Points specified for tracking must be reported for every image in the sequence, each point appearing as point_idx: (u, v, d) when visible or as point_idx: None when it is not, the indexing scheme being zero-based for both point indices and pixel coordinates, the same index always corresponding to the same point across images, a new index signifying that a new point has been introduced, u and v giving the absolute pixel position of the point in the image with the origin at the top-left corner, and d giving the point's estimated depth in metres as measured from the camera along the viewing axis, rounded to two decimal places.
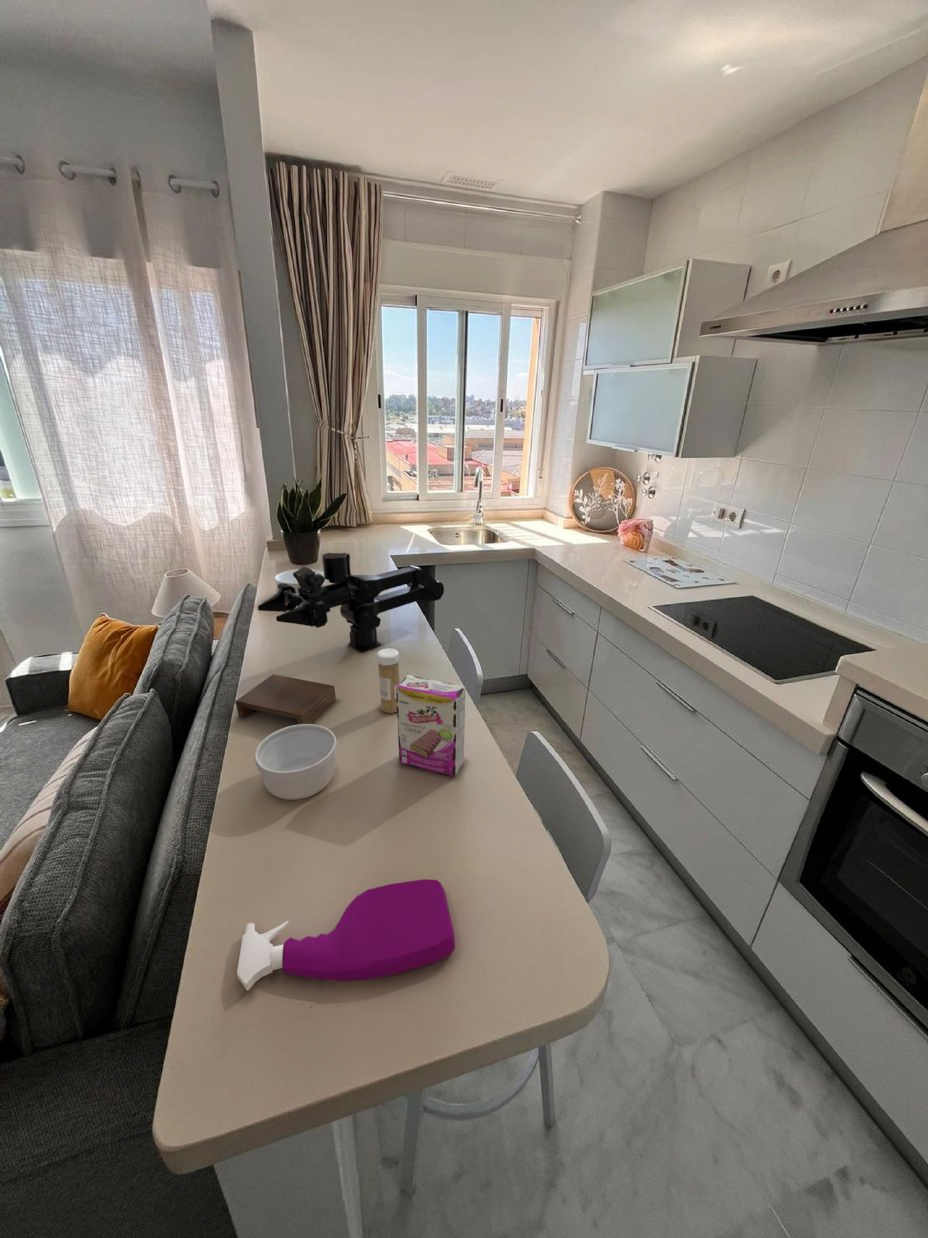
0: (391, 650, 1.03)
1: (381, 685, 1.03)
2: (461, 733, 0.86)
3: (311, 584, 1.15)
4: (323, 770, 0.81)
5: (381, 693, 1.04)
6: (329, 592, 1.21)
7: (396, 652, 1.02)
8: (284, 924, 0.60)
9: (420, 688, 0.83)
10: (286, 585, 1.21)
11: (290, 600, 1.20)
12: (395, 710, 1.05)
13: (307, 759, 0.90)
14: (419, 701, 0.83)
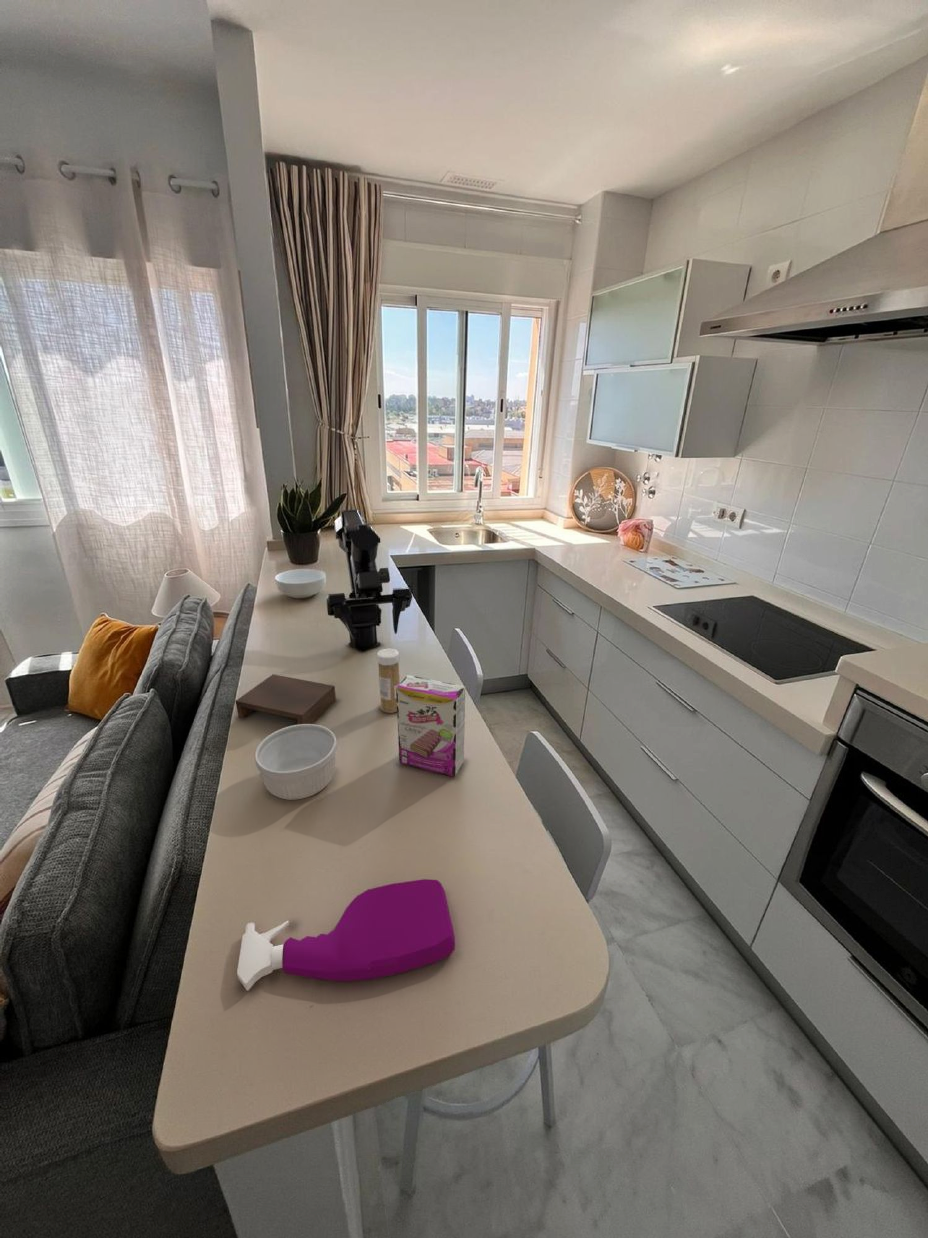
0: (391, 650, 1.03)
1: (381, 685, 1.03)
2: (461, 733, 0.86)
3: (384, 582, 1.08)
4: (323, 770, 0.81)
5: (381, 693, 1.04)
6: (375, 571, 1.13)
7: (396, 652, 1.02)
8: (284, 923, 0.60)
9: (420, 688, 0.83)
10: (339, 597, 1.07)
11: (352, 605, 1.10)
12: (395, 710, 1.05)
13: (307, 759, 0.90)
14: (419, 701, 0.83)
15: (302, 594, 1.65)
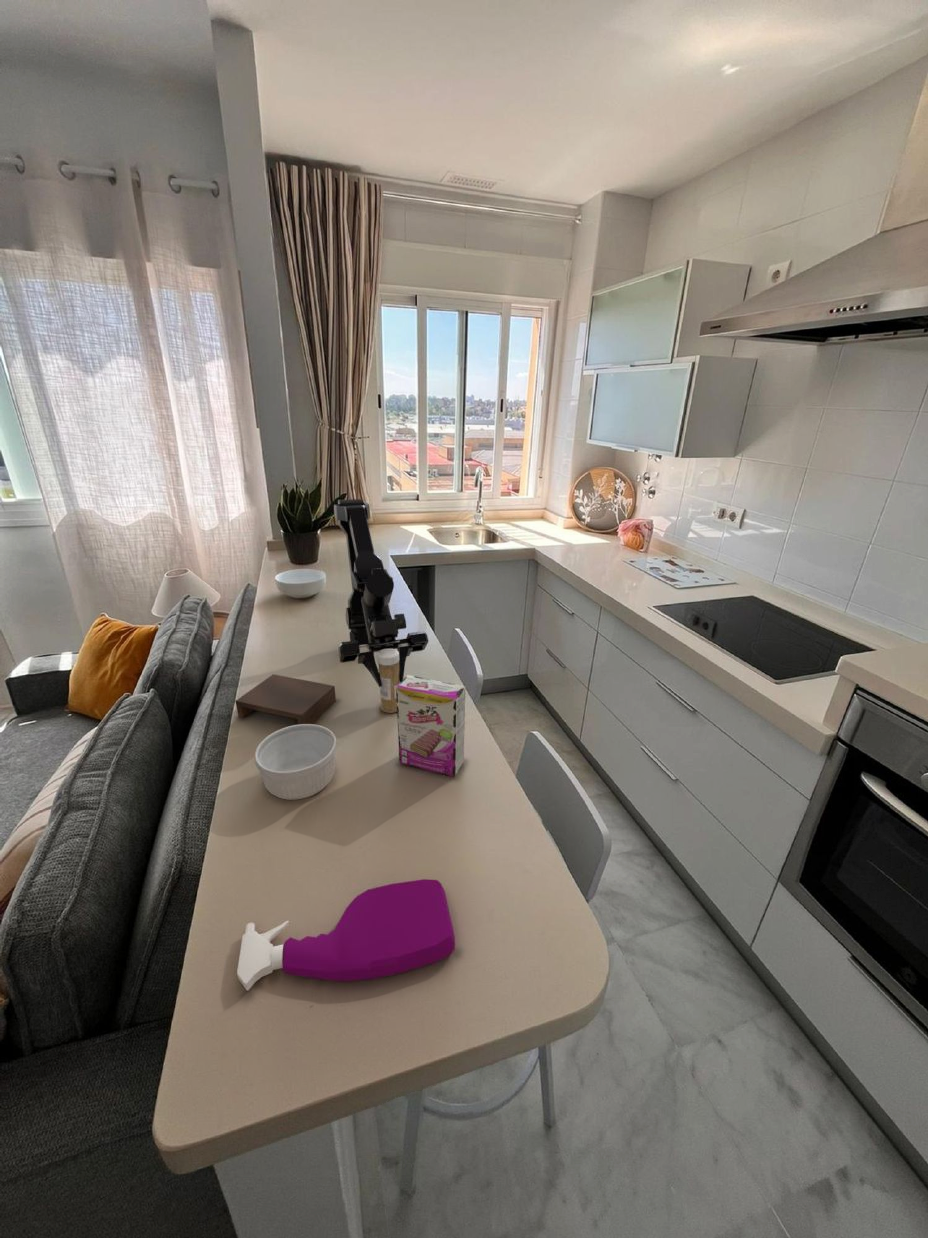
0: (391, 650, 1.03)
1: None
2: (461, 733, 0.86)
3: None
4: (323, 770, 0.81)
5: (381, 693, 1.04)
6: (388, 614, 1.08)
7: (396, 652, 1.02)
8: (284, 924, 0.60)
9: (420, 688, 0.83)
10: (352, 646, 1.01)
11: None
12: (395, 710, 1.05)
13: (307, 759, 0.90)
14: (419, 701, 0.83)
15: (302, 594, 1.65)
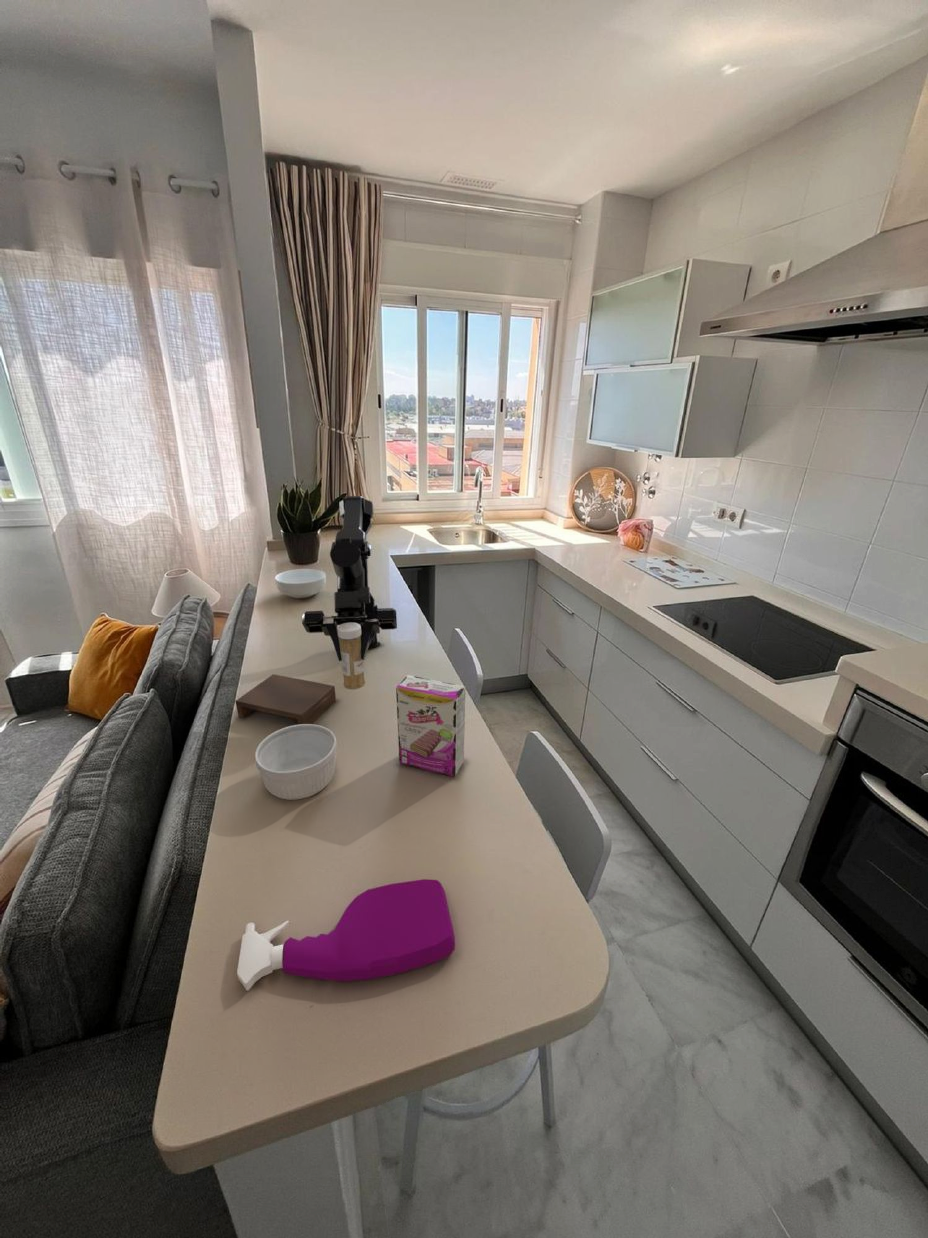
0: (354, 624, 0.99)
1: (341, 660, 0.99)
2: (461, 733, 0.86)
3: None
4: (323, 770, 0.81)
5: (342, 668, 1.00)
6: (360, 587, 1.03)
7: (357, 626, 0.98)
8: (284, 924, 0.60)
9: (420, 688, 0.83)
10: (315, 616, 0.99)
11: None
12: (355, 687, 1.01)
13: (307, 759, 0.90)
14: (419, 701, 0.83)
15: (302, 594, 1.65)
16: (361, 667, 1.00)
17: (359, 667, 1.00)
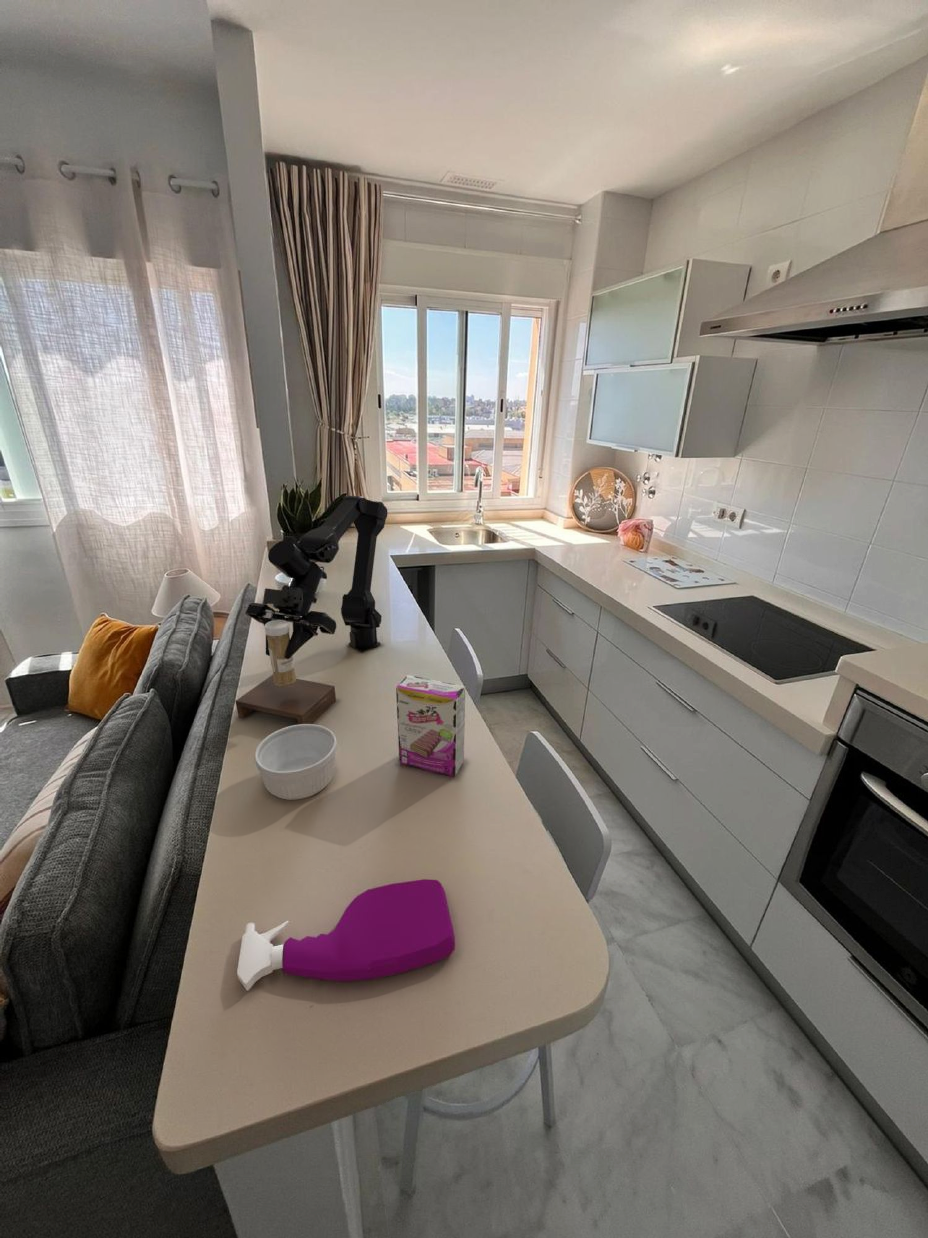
0: (282, 622, 0.99)
1: None
2: (461, 733, 0.86)
3: None
4: (323, 770, 0.81)
5: None
6: (305, 587, 1.03)
7: (282, 625, 0.98)
8: (284, 924, 0.60)
9: (420, 688, 0.83)
10: (255, 608, 1.02)
11: None
12: (280, 684, 1.02)
13: (307, 759, 0.90)
14: (419, 701, 0.83)
15: None
16: (286, 666, 1.01)
17: (284, 665, 1.00)
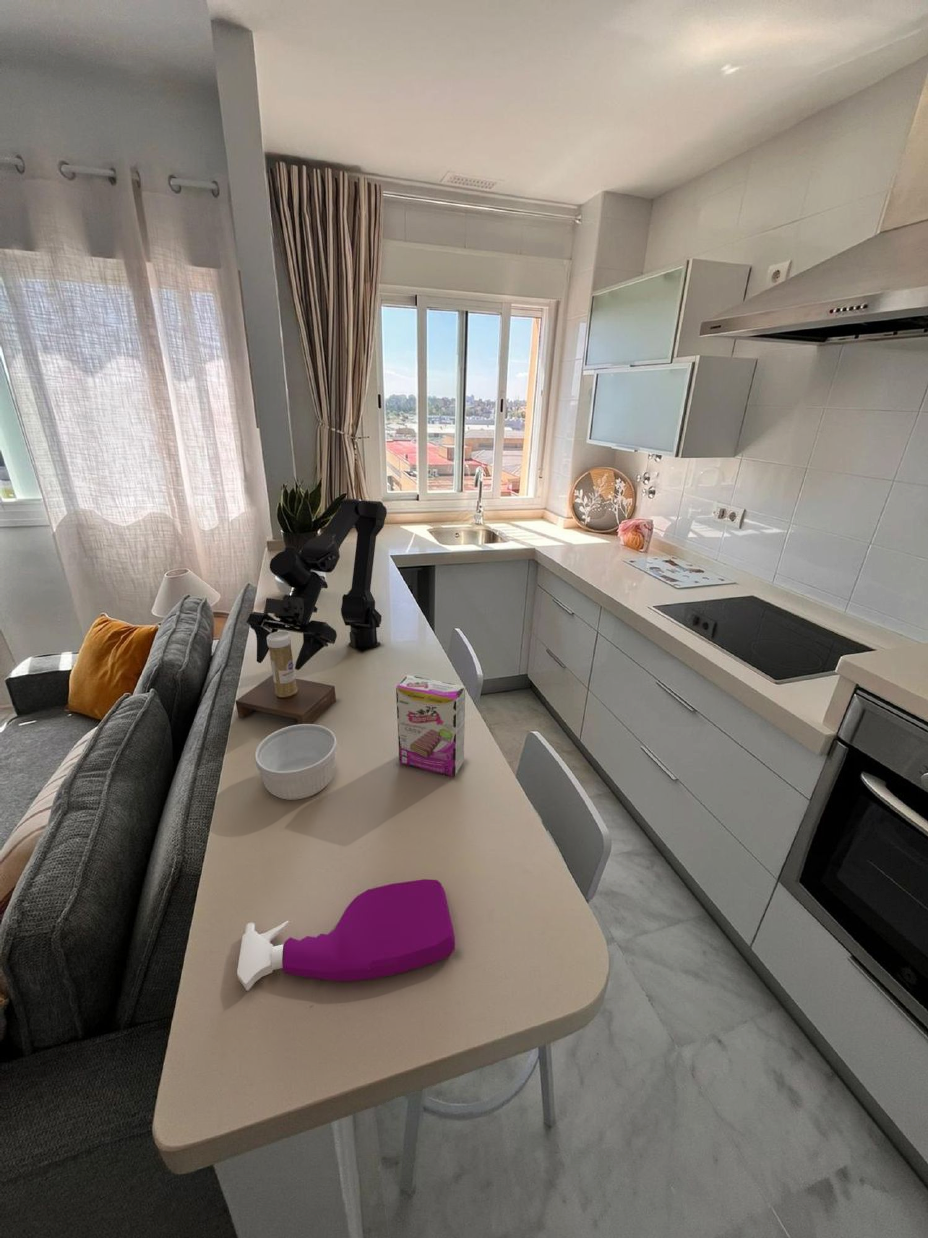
0: (284, 634, 1.00)
1: None
2: (461, 733, 0.86)
3: None
4: (323, 770, 0.81)
5: None
6: (306, 597, 1.04)
7: (283, 637, 0.99)
8: (284, 924, 0.60)
9: (420, 688, 0.83)
10: (256, 617, 1.03)
11: (274, 628, 1.05)
12: (282, 695, 1.03)
13: (307, 759, 0.90)
14: (419, 701, 0.83)
15: None
16: (288, 677, 1.02)
17: (285, 677, 1.01)
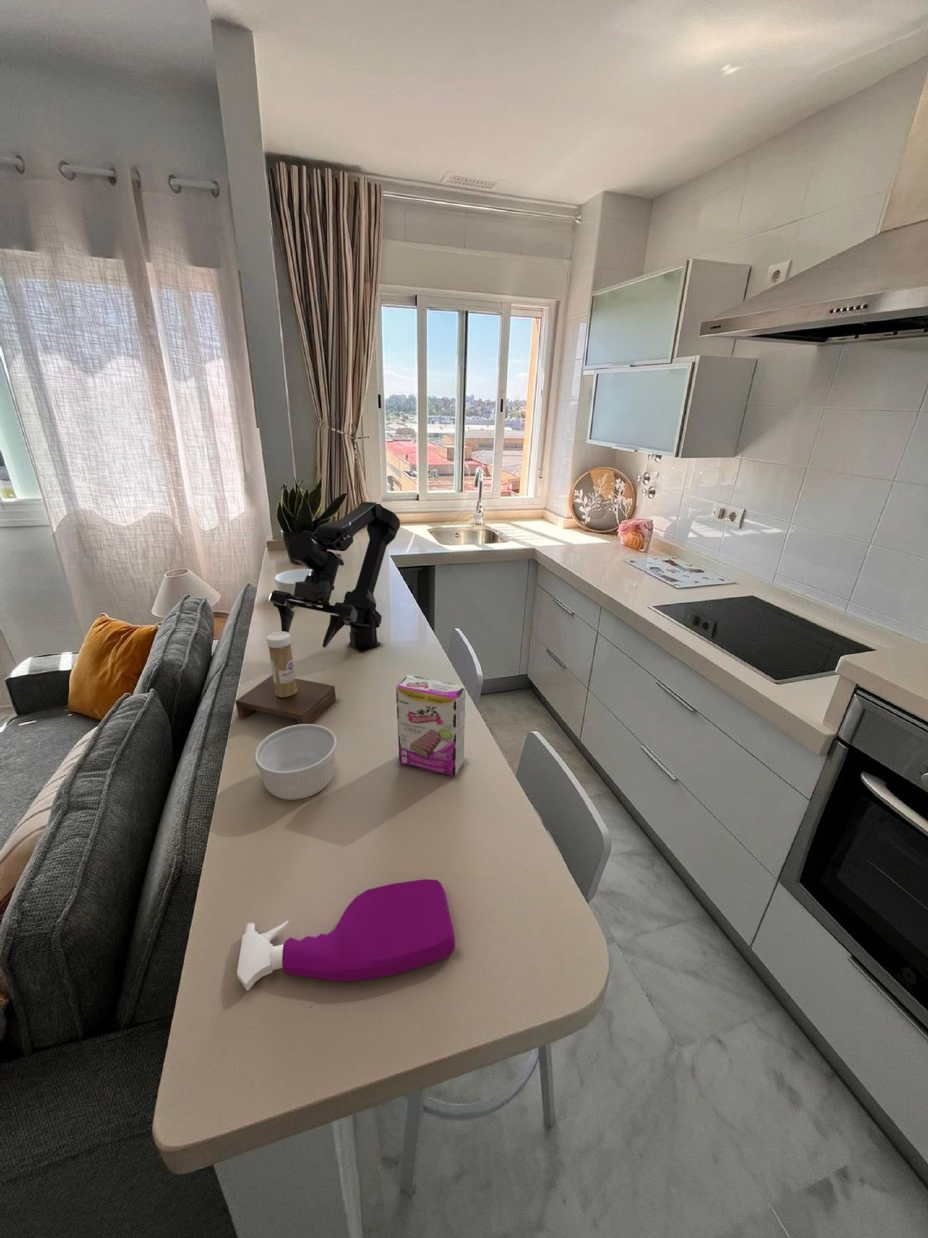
0: (284, 634, 1.00)
1: None
2: (461, 733, 0.86)
3: None
4: (323, 770, 0.81)
5: None
6: (328, 578, 1.10)
7: (283, 637, 0.99)
8: (284, 924, 0.60)
9: (420, 688, 0.83)
10: (280, 597, 1.08)
11: None
12: (282, 695, 1.03)
13: (307, 759, 0.90)
14: (419, 701, 0.83)
15: None
16: (288, 677, 1.02)
17: (285, 677, 1.01)
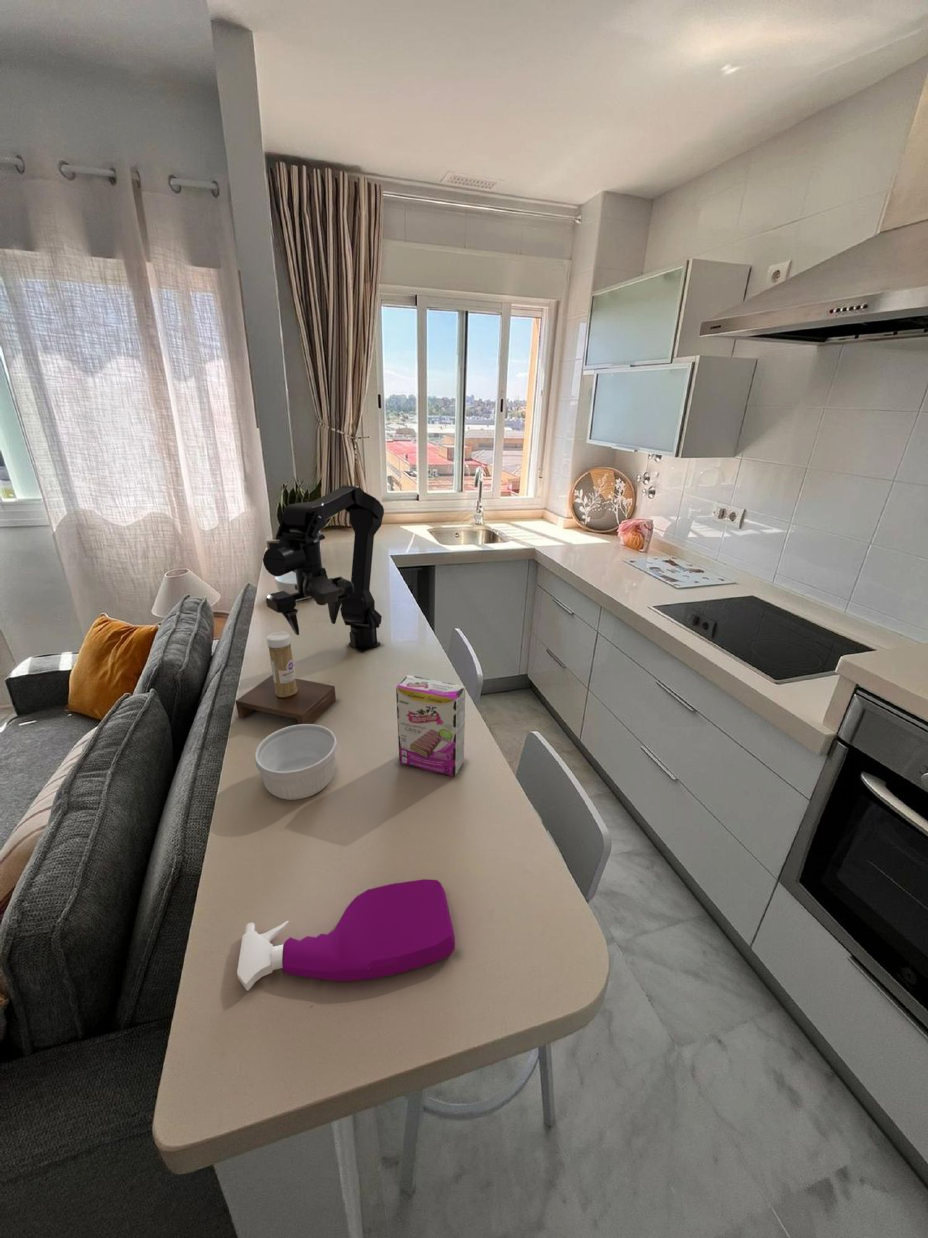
0: (284, 634, 1.00)
1: None
2: (461, 733, 0.86)
3: None
4: (323, 770, 0.81)
5: None
6: (321, 565, 1.08)
7: (283, 637, 0.99)
8: (284, 924, 0.60)
9: (420, 688, 0.83)
10: (290, 604, 1.04)
11: None
12: (282, 695, 1.03)
13: (307, 759, 0.90)
14: (419, 701, 0.83)
15: None
16: (288, 677, 1.02)
17: (285, 677, 1.01)
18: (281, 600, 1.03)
